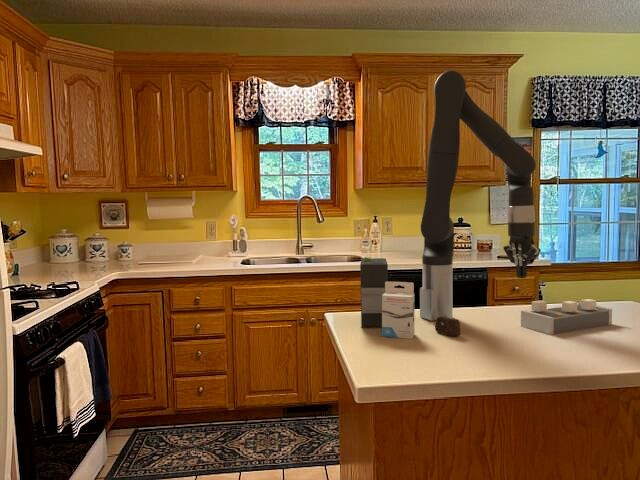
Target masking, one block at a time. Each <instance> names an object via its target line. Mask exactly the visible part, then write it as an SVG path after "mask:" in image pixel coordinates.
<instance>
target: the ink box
mask: <svg viewBox="0 0 640 480" xmlns="http://www.w3.org/2000/svg"><path fill="white" fill-rule="evenodd" d="M414 285H415V284H414V282H413V281H412V282H407V281H388V282H385V293H384V294H383V295H382V328H381V333H382V334H381V335H382V336H381V337H385V338H395V339H396V338H398V339H409V340H410V339H411V340H412V339H413V338H414V335H415V292H414V290H415V289H414V288H415V286H414ZM398 286H401V287H404V288H401V287H398Z"/></svg>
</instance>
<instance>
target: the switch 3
mask: <svg viewBox="0 0 640 480" xmlns="http://www.w3.org/2000/svg"><path fill="white" fill-rule="evenodd" d="M580 302H581V308H582V309H586V310H592V309H596V306H597V300H595V299H592V298H587V299H586V298H585V299H581V300H580Z"/></svg>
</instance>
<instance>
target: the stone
mask: <svg viewBox="0 0 640 480" xmlns="http://www.w3.org/2000/svg"><path fill="white" fill-rule="evenodd" d="M434 329H435V332H437V333H438V334H442V335H444V336H445V335H446V336H447V337H458V336H460V335H461V324H460V320H459V319H457V318H455V319H454V318H452V319H451V318H448V317H446V316H441V317H438V318H437V321H436V323H435V325H434Z"/></svg>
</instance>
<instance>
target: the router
mask: <svg viewBox="0 0 640 480" xmlns="http://www.w3.org/2000/svg"><path fill="white" fill-rule="evenodd" d="M359 265H360V266H359V267H360V269H359V272H360V274H359V275H360V315H361V316H360V321H361V323H360V324H361V326H360V328H362V329H364V328H365V329H382V295H383V294H384V293H385V282H389V280H388V279H389V278H388V277H389V273H388V272H389V270H388V269H389V267H388V261H387V258H385V257H384V258H372V257H371V256H370V257H366V256H364V258H361V259H360V264H359Z"/></svg>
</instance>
